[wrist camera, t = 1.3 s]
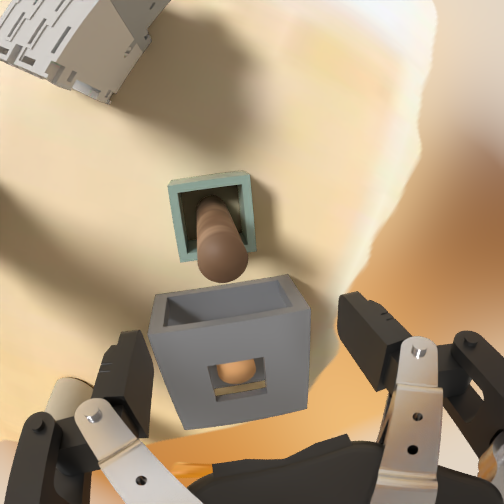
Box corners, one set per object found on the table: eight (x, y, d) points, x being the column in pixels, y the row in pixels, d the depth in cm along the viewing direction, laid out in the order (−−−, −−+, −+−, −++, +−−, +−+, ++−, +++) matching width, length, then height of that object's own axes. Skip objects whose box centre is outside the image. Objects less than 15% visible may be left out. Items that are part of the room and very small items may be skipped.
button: (218, 370, 36) (220, 386, 33) (212, 343, 34) (214, 360, 31) (252, 364, 36) (257, 380, 34) (249, 337, 35) (254, 353, 32)
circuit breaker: (185, -1, 23) (183, -81, 9) (109, 104, 26) (44, 82, 12) (132, -21, 20) (104, -96, 6) (58, 80, 23) (-21, 54, 10)
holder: (182, 248, 33) (180, 262, 29) (171, 180, 30) (167, 185, 26) (249, 238, 34) (256, 251, 30) (243, 170, 31) (249, 174, 27)
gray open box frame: (183, 387, 40) (184, 430, 33) (155, 294, 34) (147, 334, 27) (290, 369, 42) (307, 408, 35) (287, 274, 36) (310, 308, 29)
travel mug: (48, 388, 37) (18, 474, 20) (69, 368, 36) (35, 466, 19) (85, 414, 40) (67, 502, 23) (109, 398, 39) (93, 496, 22)
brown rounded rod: (198, 226, 32) (201, 286, 19) (194, 197, 31) (193, 239, 18) (228, 222, 33) (250, 278, 20) (224, 193, 32) (245, 232, 19)
